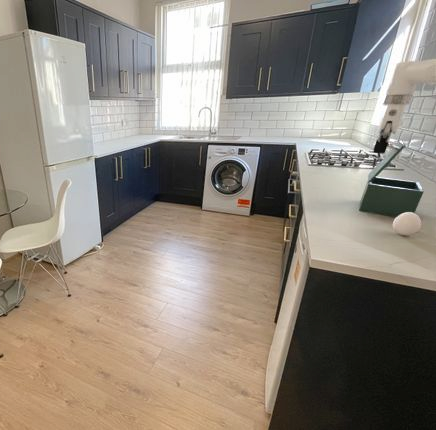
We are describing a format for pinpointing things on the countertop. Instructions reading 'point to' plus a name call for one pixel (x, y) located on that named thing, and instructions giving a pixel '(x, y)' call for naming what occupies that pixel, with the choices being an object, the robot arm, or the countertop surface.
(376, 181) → the bin
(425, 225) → the countertop surface
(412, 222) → the egg
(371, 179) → the bin lid
